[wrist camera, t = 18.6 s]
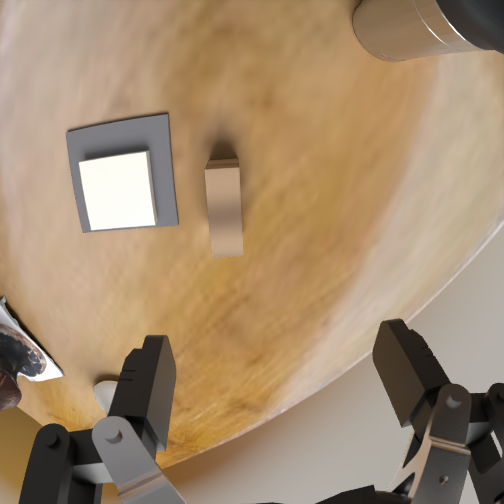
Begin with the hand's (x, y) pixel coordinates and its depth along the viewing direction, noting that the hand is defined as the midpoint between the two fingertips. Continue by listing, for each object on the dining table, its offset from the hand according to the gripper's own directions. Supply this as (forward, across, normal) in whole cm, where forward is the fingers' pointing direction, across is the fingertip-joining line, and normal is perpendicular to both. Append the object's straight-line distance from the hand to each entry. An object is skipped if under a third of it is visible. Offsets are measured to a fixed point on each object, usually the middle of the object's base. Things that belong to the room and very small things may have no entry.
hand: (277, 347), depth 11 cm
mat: (+28, +16, -1) cm, 33 cm away
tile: (+27, +16, -4) cm, 31 cm away
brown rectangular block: (+29, +3, +3) cm, 29 cm away
